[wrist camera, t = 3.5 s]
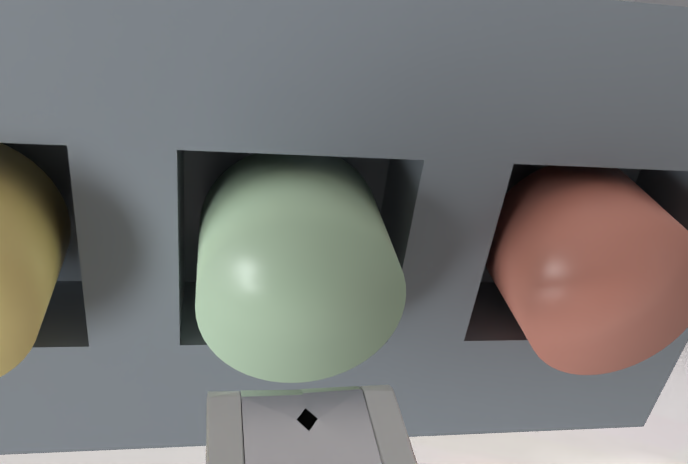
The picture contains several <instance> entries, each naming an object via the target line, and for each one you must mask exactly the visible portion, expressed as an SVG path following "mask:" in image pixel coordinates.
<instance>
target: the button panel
mask: <svg viewBox="0 0 688 464" xmlns="http://www.w3.org/2000/svg"><path fill="white" fill-rule="evenodd" d="M0 143H2V144H5V145H7V146H9V147H11V148H12V149H14V150H16V151H18V152H20V153H21V154H23V155H24V156H26V157H27V158H28V159H30V160H31V161H33V162H34V163H35V164H36V165H37V166H38V167H39V168H41V169H42V170H43V171H44V172H45V173H46V174H47V176H48V177H49V178H50V179H51V180H52V181H53V183H54V184H55V186H56V187H57V188H58V190H59V191H60V193H61V195H62V197H63V199H64V201H65V203H66V206H67V209H68V212H69V217H70V222H71V236H70V243H69V246H68V250H67V253H66V256H65V258H64V261H63V264H62V267H61V270H60V273H59V276H58V278H57V281H56V284H55V287H54V290H53V293H52V296H51V298H50V301H49V304H48V307H47V310H46V313H45V316H44V319H43V321H42V324H41V327H40V330H39V333H38V336H37V339H36V341H35V343H34V345H33V347H32V349H31V351H30V352H29V353H28V354H27V356H26V357H25V358H24V360H23V361H21V362H20V363H19V364H18V365H17V366H16V367H15V368H14V369H12V370H11V371H9V372H8V373H7V374H5V375H3V376H1V377H0V455H5V454H27V453H50V452H73V451H96V450H118V449H141V448H164V447H187V446H206V414H207V394H208V392H212V391H239V393H240V390H300V389H311V388H331V387H351V386H358V387H360V386H372V385H390V386H391V387H392V388H393V390H394V393H395V396H396V400H397V403H398V406H399V409H400V412H401V415H402V418H403V421H404V424H405V427H406V430H407V433H408V436H409V437H415V436H437V435H460V434H483V433H506V432H529V431H551V430H574V429H597V428H620V427H642V426H644V424H645V423H646V421H647V419H648V417H649V415H650V413H651V411H652V409H653V407H654V405H655V403H656V401H657V399H658V397H659V395H660V393H661V391H662V390H663V388H664V386H665V384H666V382H667V380H668V378H669V376H670V374H671V372H672V370H673V368H674V366H675V364H676V362H677V360H678V359H679V357H680V355H681V353H682V351H683V349H684V347H685V345H686V343H687V341H688V327H687V328H686V330H685V331H684V332H683V333H682V334H681V335H680V336H679V337H677V338H676V339H675V340H674V341H673V342H672V343H670V344H669V345H668V346H667V347H665V348H664V349H662V350H661V351H659V352H658V353H656V354H655V355H653V356H651V357H650V358H648V359H646V360H644V361H642V362H640V363H638V364H635V365H633V366H630V367H628V368H625V369H622V370H618V371H615V372H611V373H605V374H598V375H577V374H570V373H566V372H562V371H559V370H557V369H555V368H552V367H551V366H549V365H548V364H546V363H545V362H544V361H542V360H541V359H540V358H539V357H538V355H537V354H536V353H535V351H534V350H533V348H532V346H531V345H530V343H529V341H528V339H527V338H526V336H525V334H524V333H523V331H522V329H521V327H520V326H519V324H518V322H517V320H516V319H515V317H514V315H513V313H512V312H511V310H510V308H509V307H508V305H507V303H506V301H505V300H504V298H503V296H502V294H501V293H500V291H499V289H498V287H497V286H496V284H495V282H494V281H493V279H492V277H491V275H490V274H489V272H488V270H487V268H486V266H485V264H486V261H487V257H488V254H489V250H490V247H491V243H492V240H493V236H494V233H495V229H496V225H497V222H498V218H499V215H500V211H501V208H502V204H503V201H504V197H505V194H506V193H507V192H508V191H509V190H510V189H511V188H512V187H513V186H515V185H516V184H517V183H518V182H520V181H521V180H522V179H523V178H525V177H527V176H528V175H530V174H531V173H533V172H535V171H537V170H539V169H541V168H543V167H545V166H548V165H553V166H578V167H602V168H618V169H620V170H621V171H622V172H624V173H625V174H626V175H627V176H628V177H629V178H630V179H631V180H632V181H634V182H635V183H636V184H637V185H638V186H639V187H640V188H641V189H642V190H644V191H645V192H646V193H647V194H648V195H649V196H650V197H651V198H652V199H653V200H655V201H656V202H657V203H658V204H659V205H660V206H661V207H662V208H663V209H665V210H666V211H667V212H668V213H669V214H670V215H671V216H672V217H673V218H674V219H676V220H677V221H678V222H679V223H680V224H681V225H682V226H683V227H684V228H686V229H687V230H688V0H0ZM254 153H262V154H286V155H310V156H335V157H339V158H341V159H343V160H344V161H346V162H347V163H348V164H350V165H351V166H352V167H353V168H355V169H356V170H357V171H358V172H359V173H360V174H361V176H362V177H363V178H364V180H365V181H366V182H367V184H368V186H369V188H370V189H371V192H372V194H373V197H374V199H375V202H376V204H377V207H378V209H379V212H380V215H381V217H382V220H383V222H384V225H385V227H386V230H387V232H388V235H389V238H390V240H391V243H392V245H393V248H394V250H395V253H396V255H397V258H398V261H399V263H400V266H401V268H402V271H403V274H404V278H405V283H406V300H405V307H404V310H403V314H402V317H401V319H400V321H399V323H398V326H397V327H396V329H395V331H394V332H393V334H392V335H391V337H390V338H389V339H388V340H387V342H386V343H385V344H384V345H383V346H382V347H381V348H380V349H379V350H378V351H377V352H376V353H375V354H373V355H372V356H371V357H369V358H368V359H367V360H366V361H364V362H362V363H361V364H359V365H357V366H356V367H354V368H352V369H350V370H348V371H346V372H343V373H341V374H338V375H335V376H333V377H329V378H325V379H321V380H316V381H311V382H301V383H281V382H272V381H267V380H262V379H258V378H255V377H252V376H249V375H246V374H244V373H242V372H240V371H238V370H235V369H234V368H232V367H231V366H229V365H228V364H226V363H225V362H223V361H222V360H221V359H220V358H219V357H217V356H216V355H215V353H214V352H213V351H212V350H211V349H210V348H209V346H208V345H207V343H206V342H205V340H204V339H203V337H202V335H201V332H200V330H199V328H198V324H197V320H196V312H195V298H196V280H197V261H198V242H199V224H200V214H201V210H202V206H203V203H204V201H205V198H206V196H207V194H208V192H209V190H210V189H211V187H212V185H213V184H214V183H215V182H216V180H217V179H218V178H219V177H220V176H221V175H222V174H223V173H224V172H225V171H226V170H227V169H228V168H230V167H231V166H232V165H234V164H235V163H236V162H238V161H240V160H241V159H243V158H245V157H247V156H249V155H251V154H254Z"/></svg>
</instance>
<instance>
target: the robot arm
mask: <svg viewBox="0 0 688 464" xmlns="http://www.w3.org/2000/svg"><path fill="white" fill-rule="evenodd" d="M206 464H417V461H416V458H415V455H414V452H413V449H412V446H411V443H410V440H409V436H408V433H407V430H406V427H405V424H404V421H403V418H402V415H401V412H400V409H399V406H398V403H397V400H396V396H395V393H394V390H393V388H392V387H391V386H390V385H372V386H360V387H358V386H351V387H331V388H311V389H300V390H240V393H239V391H212V392H208V394H207V414H206Z"/></svg>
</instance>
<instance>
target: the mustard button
mask: <svg viewBox="0 0 688 464" xmlns="http://www.w3.org/2000/svg"><path fill="white" fill-rule="evenodd" d="M70 236H71V222H70V217H69V212H68V209H67V206H66V203H65V201H64V199H63V197H62V195H61V193H60V191H59V190H58V188H57V187H56V186H55V184H54V183H53V181H52V180H51V179H50V178H49V177H48V176H47V174H46V173H45V172H44V171H43V170H42V169H41V168H39V167H38V166H37V165H36V164H35V163H34V162H33V161H31V160H30V159H28V158H27V157H26V156H24V155H23V154H21V153H20V152H18V151H16V150H14V149H12V148H11V147H9V146H7V145H5V144H2V143H0V377H1V376H3V375H5V374H7V373H8V372H9V371H11V370H12V369H14V368H15V367H16V366H17V365H18V364H19V363H20V362H21V361H23V360H24V358H25V357H26V356H27V354H28V353H29V352H30V351H31V349H32V347H33V345H34V343H35V341H36V339H37V336H38V333H39V330H40V327H41V324H42V321H43V319H44V316H45V313H46V310H47V307H48V304H49V301H50V298H51V296H52V293H53V290H54V287H55V284H56V281H57V278H58V276H59V273H60V270H61V267H62V264H63V261H64V258H65V256H66V253H67V250H68V246H69V243H70Z"/></svg>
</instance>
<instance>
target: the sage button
mask: <svg viewBox="0 0 688 464" xmlns="http://www.w3.org/2000/svg"><path fill="white" fill-rule="evenodd" d="M405 300H406V283H405V278H404V274H403V271H402V268H401V266H400V263H399V261H398V258H397V255H396V253H395V250H394V248H393V245H392V243H391V240H390V238H389V235H388V232H387V230H386V227H385V225H384V222H383V220H382V217H381V215H380V212H379V209H378V207H377V204H376V202H375V199H374V197H373V194H372V192H371V189H370V188H369V186H368V184H367V182H366V181H365V180H364V178H363V177H362V176H361V174H360V173H359V172H358V171H357V170H356V169H355V168H353V167H352V166H351V165H350V164H348V163H347V162H346V161H344V160H343V159H341V158H339V157H335V156H310V155H286V154H262V153H254V154H251V155H249V156H247V157H245V158H243V159H241V160H240V161H238V162H236V163H235V164H234V165H232V166H231V167H230V168H228V169H227V170H226V171H225V172H224V173H223V174H222V175H221V176H220V177H219V178H218V179H217V180H216V182H215V183H214V184H213V185H212V187H211V189H210V190H209V192H208V194H207V196H206V198H205V201H204V203H203V206H202V210H201V214H200V224H199V242H198V261H197V280H196V298H195V312H196V320H197V324H198V328H199V330H200V332H201V335H202V337H203V339H204V340H205V342H206V343H207V345H208V346H209V348H210V349H211V350H212V351H213V352H214V353H215V355H216V356H217V357H219V358H220V359H221V360H222V361H223V362H225V363H226V364H228V365H229V366H231V367H232V368H234V369H235V370H238V371H240V372H242V373H244V374H246V375H249V376H252V377H255V378H258V379H262V380H267V381H272V382H281V383H301V382H311V381H316V380H321V379H325V378H329V377H333V376H335V375H338V374H341V373H343V372H346V371H348V370H350V369H352V368H354V367H356V366H357V365H359V364H361V363H362V362H364V361H366V360H367V359H368V358H369V357H371V356H372V355H373V354H375V353H376V352H377V351H378V350H379V349H380V348H381V347H382V346H383V345H384V344H385V343H386V342H387V340H388V339H389V338H390V337H391V335H392V334H393V332H394V331H395V329H396V327H397V326H398V323H399V321H400V319H401V317H402V314H403V310H404V307H405Z"/></svg>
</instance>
